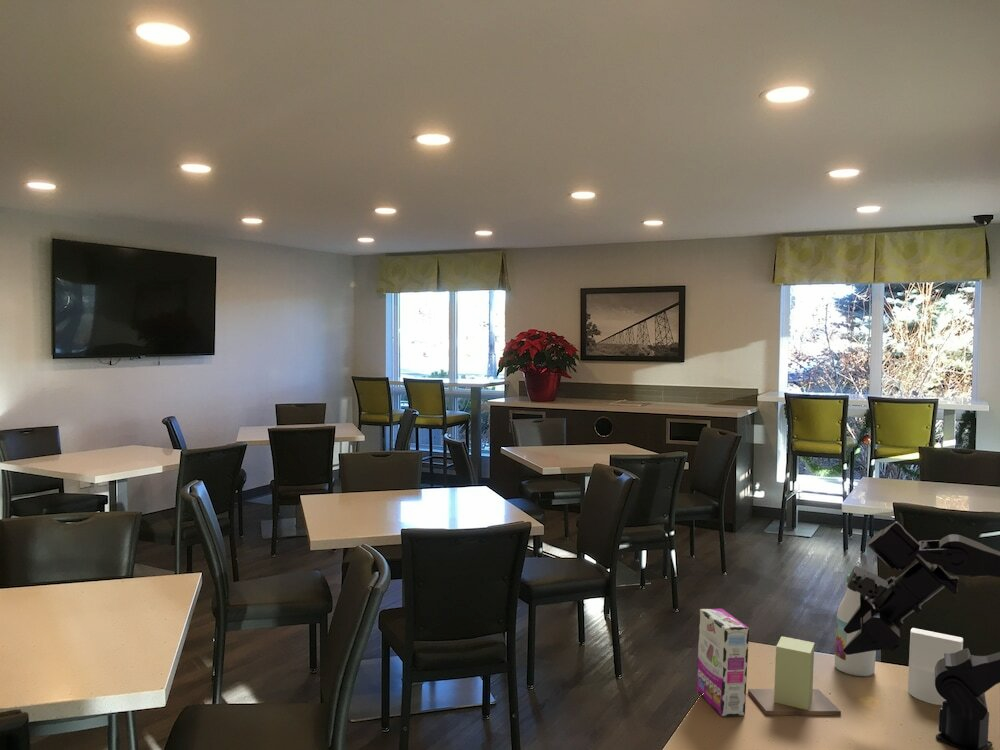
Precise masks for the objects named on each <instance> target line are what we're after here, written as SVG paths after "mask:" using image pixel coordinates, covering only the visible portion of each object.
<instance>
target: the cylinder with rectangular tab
mask: <svg viewBox="0 0 1000 750" xmlns="http://www.w3.org/2000/svg"><path fill="white" fill-rule="evenodd" d="M962 649H964V638H963V637H961V636H956V635H951V634H946V633H941V632H935V631H932V630H931V631H930V630H925V629H920V628H917V627H912V628H911V629H910V637H909V657H908V674H907V675H908V677H907V692H908V693H909V695H911V696H913V697H914V698H915V699H918V700H920V701H922V702H924V703H925V702H926V703H928V704H932V705H938V706H942V704H943V701H946V700H945V699H944V698H943V697H941V696H940V694H939V693H938V692H937V690H936V687H935V666H936V664H937V662H938V661H939V660H940V659H943V658H944V653H949V654H951V653H956V652H958V651H960V650H962Z"/></svg>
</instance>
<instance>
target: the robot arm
mask: <svg viewBox="0 0 1000 750" xmlns="http://www.w3.org/2000/svg"><path fill="white" fill-rule="evenodd" d="M866 547H868V548H869V549H870V550H871V551H872V553H874V554H875V555H876V557H878V558H879V559H880V560H881V561H882V562H883V563H884V564H885V565H886V566H888V568H890V570H893V569H896V570H897V571H898V570H900V571H902V570H904V569H906V568H907V567H908V566H910V565H911V564H912V563H913V562H914V561H916V562H914V564H912V565H911V566H910V567H908V568H907V569H906V570H904V572H902V573H901V574H900V575H899V576H897V577H896V576H895V575H893V576H889V577H888V578H886V579H884V578H882V577H880V576H878V575H877V574H875V573H873V572H871V571H870V570H866V569H864V568H863V567H861V566H857V565H854V566H853V568H852V570H851V572H850V573H849V574H850V576H849V578H848V580H847V581H848V584H847V585H846V588H847V587H848V588H849V589H851V590H852V591H855V592H856V591H857V592H859V593H860V606H859V607H858V609H857V610H856V612H855V613H854V614H853V616H852V617H851V619H850V620H849V621H848V623H847V624H846V626H845V627H844V631H845V632H846V633H847V634H849V633H852V632H855V631H858V630H860V631H859V632H858V633H857V634H856V635H855V636H854V637H853V638H852V640H851V641H850V642H849V643H848V644H847V645H846V647H845V648H844V649H843V651H844V652H845V653H846V654H847V655H851V654H856V653H862V652H868V651H875V650H876V651H883V650H885V651H891V652H893V651H895V650H896V649H897V648H899V647H900V646H901V633H900V632H901V631H900V629H899V628H900V627H902V626H903V625H904V621H903V620H904V619H906V618H907V617H908V616H909V615H911V614H912V613H913V612H915V613H916V614H919V613H920V612H921V611H922V606H923V605H924V604H925V603H926V602H928V601H929V600H931V598H933V596H935V595H936V594H938V593H939V592H940V591H942V590H943V589H945V588H946V589H947V590H948V591H949V592H950V593H951V594H952V595H954V596H958V594H959V593H958V591H959V590H958V584H959V581H960V579H959V577H958V576H965V577H977V578H978V577H979V578H981V577H986V578H987V577H991V578H992V577H993V578H1000V551H999V550H996V549H994V548H991V547H990V546H987V545H986V544H983V543H981V542H978V541H976V540H974V539H971V538H968V537H966V536H964V535H960V534H957V533H955V534H953V533H952V534H948V535H946V536H943V537H942V538H941V539H936V540H935V539H934V540H931V539H930V540H919V541H918V540H916V538H914V537H913V536H912V535H911V534H910V532H908V531H907V530H906V529H905V528H904V526H903V525H902V524H901V523H900V522H899V521H894V522H893V523H892V524H890V525H888V526H887V527H885V528H884V529H880V530H879V531H878V532H877V533H876V534H875V535H873V537H871V539H869V541H868V542H867V543H866ZM949 573H950V574H949ZM951 574H952V575H951ZM847 581H846V582H847ZM998 684H1000V651H998V652H995V653H991V654H987V655H973V654H971V652H970V649H969V648H968V647H966V648H963V649H962V650H960V651H958V652H956V653H951V654H949V653H944V658H943V659H940V660H939V661H938V662H937V664H936V666H935V687H936V690H937V692H938V693H939V694H940V696H941V697H943V698H944V699H945V700H946V701H943V704H942V705H941V708H939V712H938V713H939V714H938V731H939V733H937V734H935V739H936V740H939V741H941V742H943V743H946V744H948V745H950V746H952V747H954V748H956V749H959V750H987V749H989V748H991V747H993V742H992V741H990V740H989V726H990V725H989V724H990V712H989V710H988V705H987V699H986V694H985V693H986V692H988V691H989V690H990V689H992V688H993V687H995V686H996V685H998Z"/></svg>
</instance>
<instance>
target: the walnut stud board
mask: <svg viewBox="0 0 1000 750" xmlns="http://www.w3.org/2000/svg"><path fill="white" fill-rule="evenodd" d="M747 694H748V695H749V696H750V698H752V700H753V701H754V702H755V703H756V705H757V706H758V707H759V708H760V709H761V711H762V712H763V713H764V714H765V716H842V711H841V709H839V708H838V706H836V705H835V703H833V702H832V701H831V700H830V699H829V698H828V697H827V695H826V694H824V693H823V692H822V691H821V690H820V689H819V688H813V690H812V699H811V702H810V705H809V709H808V710H806V709H801V708H797V707H793V706H789V705H784V704H780V703H776V702H774V688H748V689H747Z"/></svg>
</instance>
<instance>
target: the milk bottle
mask: <svg viewBox="0 0 1000 750" xmlns="http://www.w3.org/2000/svg"><path fill="white" fill-rule="evenodd" d="M850 574H851V573H847V574H846V578H845V579H846V584H845V585H846V592H845V594H844V596H843V598H842V600H841V601H840V604H839V606H838V609H837V615H836V625H835V626H836V627H835V644H834V645H835V646H834V648H835V649H834V666H835V668H836V670H839V671H840V672H842V673H844V674H848V675H851V676H855V677H869V676H873V674H874V673H875V670H876V669H875V668H876V655H877V654H876V653H877V650H875V651H868V652H862V653H856V654H851V655H847V654H846V653H845V652H844V651H843V649H844V648H845V647H846V645H847V644H848V643H849V642H850V641H851V640H852V638H853V637H854V636H855V635H856V634H857V633H858V632H859V631H860V630H858V631H855V632H852V633H849V634H847V633H846V632H845V631H844V627H845V626H846V624H847V623H848V621H849V620H850V619H851V617H852V616H853V614H854V613H855V612H856V610H857V609H858V607H859V606H860V593H859V592H857V591H856V592H855V591H852V590H851V589H849V588H848V587H847V584H848V581H847V580H848V578H849V576H850Z"/></svg>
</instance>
